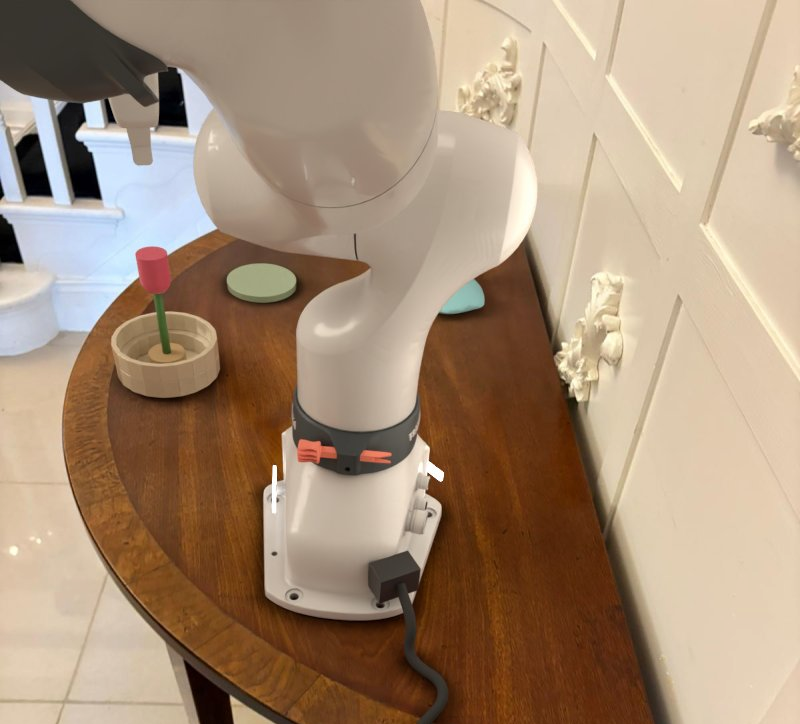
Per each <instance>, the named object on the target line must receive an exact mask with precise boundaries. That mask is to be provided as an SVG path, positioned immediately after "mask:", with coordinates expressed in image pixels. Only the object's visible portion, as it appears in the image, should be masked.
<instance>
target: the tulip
mask: <svg viewBox="0 0 800 724" xmlns="http://www.w3.org/2000/svg"><path fill="white" fill-rule="evenodd" d="M134 255H135V260H136V266H137V267H136V268H137V272H138V277H139V278H138V279H139V282H140V285H141V287H142V288H143V289H144V290H145V291H146V292H148V293H150V294H152V295H153V302H154V308H155V312H156V315H157V321H158V327H159V333H160V339H161V344H157V345H155V346H153V347H152V348H151V349H150V350H149V352H148V356H149V361H150V363H156V364H163V363H175V362H179V361H183V360H187V359H186V351H185V349H184V347H183V346H181V345H179V344H176V343H170V341H169V335H168V328H167V322H166V315H165V312H166V310H165V309H166V308H165V303H164V296H163V294H164V293H165V292H166V291H168V290H169V288H170V286H171V283H172V276H171V271H170V262H169V255H168V251H167V250H166V249H165V248H163V247H160V246H153V245H152V246H151V245H150V246H143V247H141V248H139V249H137V250H136V251H135V254H134Z"/></svg>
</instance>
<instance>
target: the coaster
mask: <svg viewBox="0 0 800 724" xmlns="http://www.w3.org/2000/svg"><path fill="white" fill-rule="evenodd" d="M226 287H227V290H228V292H229V293H230V294H231V295H232V296H233V297H235V298H237V299H239V300H242V301H246V302H250V303H258V304H266V303H275V302H279V301H283V300H285V299H287V298H289V297H290V296H292V295H293V294H294V293H295V292H296V290H297V277H296V275H295V274H294V272H292V271H291V270H290V269H288V268H286V267H284V266H281V265H278V264H273V263H266V262H265V263H264V262H263V263H261V262H259V263H249V264H245V265H244V264H243V265H241V266H237V267H236V268H234V269H233V270H231V271H230V272H229V273H228V274H227V277H226Z"/></svg>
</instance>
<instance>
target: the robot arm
mask: <svg viewBox="0 0 800 724" xmlns="http://www.w3.org/2000/svg"><path fill="white" fill-rule="evenodd" d="M168 68H176V69H179V70H181V71H182V72H183V73H184V74H185V75H186V76H187V77H188V78H189V79H190V80H191V81H192V82H193V83H194V84H195V85H196V86H197V87H198V89H199V90H200V91H201V92H202V93H203V94H204V96H205V97H206V99H207V100H208V102H209V103H210V105H211V106H212V109H211V110H210V112H209V113H208V114H207V116H206V117H205V119H204V121H203V123H202V124H201V127H200V129H199V132H198V134H197V138H196V141H195V145H194V149H193V160H192V167H193V168H192V170H193V179H194V185H195V189H196V192H197V195H198V198H199V200H200V201H199V202H200V204H201V205H202V208H203V210H204V211H205V213H206V215H207V216H208V218H209V219H210V221H211V222H212V224H213V226H215V228H216V229H217V230H218V231H219V232H220V233H222V234H224V235H227V236H230V237H233V238H236V239H238V240H242V241H244V242H248V243H250V244H254V245H256V246H261V247H264V248H267V249H270V250H274V251H278V252H281V253H289V254H297V255H305V256H314V257H315V256H316V257H323V258H330V259H338V260H339V259H340V260H348V261H355V262H358V261H359V262H362V263H365V264H366V265H367V266H369V267H370V268H369V269H367V270H366V271H364V272H363V273H360V274H359V275H358V276H355V277H353V278H350V279H347V280H345V281H341V282H339V283H335V284H334V285H331V286H330V287H327V288H325V289H324V290H322V291H321V292H320V293H318V294H317V295H316V296H314V297H313V298H312V299H311V300H310V301H309V302H308V303H307V304H306V305H305V307H304V309H303V310H302V311H301V313H300V315H299V318H298V321H297V324H296V328H295V342H296V343H295V344H296V381H297V382H296V383H297V384H296V386H295V387H294V390H293V395H292V396H293V398H292V403H291V423H292V425H291V426H290V427H288V428H287V429H285V431H283V432H282V433H281V450H282V451H281V452H282V470H283V471H282V473H283V479H282V480H279V481H277V465H272V483H271V484H268V485H267V486H266V487H265V488H264V490H263V496H262V507H263V508H262V519H263V520H262V521H263V525H262V526H263V527H262V528H263V575H264V576H263V579H264V580H263V582H264V584H263V585H264V587H263V588H264V595H265V597H266V598H267V599H268V600H269V601H271V602H272V603H274V604H276V605H277V606H279V607H281V608H284V609H286V610H288V611H291V612H293V613H297V614H301V615H305V616H310V617H314V618H322V619H331V620H340V621H377V620H382V619H384V620H385V619H388V618H392V617H396V616H400V615H402V614H403V618H404V624H405V636H404V641H403V652H404V656H405V658H406V661H407V663H408V664H409V665H410V667H411V668H412V669H413V670H414V671H415V672H417V673H418V674H419V675H421V676H422V677H424V678H425V679H427V680H428V681H430V682H431V683H432V684H433V685H434V687H435V688H436V690H437V691H436V692H437V695H436V698H435V701H434V703H433V704H432V706H430V708H429V709H428V710H427V711H426V712H425V713H424V714H423V715H422V716H421V717H420V718H419V720H418V721H417V722H416V724H432V723H433V722H434V721H435V720H436V719H437V718H438V717H439V716H440V715H441V713H443V711H444V710H445V708H446V706H447V704H448V702H449V688H448V684H447V682H446V680H445V679H444V677H443V676H442V675H441V674H440V673H439V672H437V671H436V670H435V669H433V668H432V667H430V666H429V665H427V664H426V663H425V662H423V661H422V660H421V659H420V658H419V656H418V655H417V653H416V650H415V642H416V639H417V632H418V631H417V630H418V628H417V619H416V614H415V610H414V607H413V603H414V601H415V598H416V595H417V591H419V587H420V583H421V579H422V576H423V573H424V570H425V567H426V564H427V561H428V558H429V555H430V552H431V550H432V549H431V548H432V546H433V543H434V539H435V537H436V534H437V531H438V527H439V524H440V522H441V518H442V515H443V514H442V512H443V511H442V504H441V502H439V501H438V499H436V498H435V497H433V496H431V495H430V494H427V492H426V491H428V490H429V486H430V482H431V476H433V478H435V479H436V480H438V481H439V482H442V481H443V480H444V474H445V473H444V472H443V470H441V469H440V468H438V467H436V466H435V464H433V463H432V462H430V461H429V460H430V451H431V450H430V448H431V447H430V446H429V445H428V444H427V443H426V441H424V440H423V438H421V436H420V435H419V434H418V432H419V426H420V421H421V413H422V412H421V397H420V394H419V391H418V386H419V378H420V372H421V366H422V362H423V361H422V360H423V356H424V351H425V347H426V342H427V338H428V335H429V332H430V330H431V327H432V325H433V324H434V321H435V320H436V318H437V317H438V314H440V313H439V312H440V310H441V309H442V308H443V306H444V305H445V304H446V303H447V302H448V300H449V299H450V298H451V297H452V296H453V295H454V294H455V293H456V292H457V291H458V290H459V289H461V288H462V287H463V286H464V285H466V284H467V283H468V282H470V281H471V280H473V279H476V278H478V277H479V276H480V275H483V274H484V273H486V272H488V271H490V270H492V269H494V268H496V267H498V266H500V265H501V264H503V263H504V262H505V261H506V260H507V259H509V257H511V256H512V255H513V254H514V252H515V251H516V250H517V249H518V248H519V247H520V245H521V243H522V242H523V241H524V239H525V238H526V236H527V234H528V232H529V230H530V227H531V225H532V222H533V221H534V216H535V213H536V209H537V204H538V203H537V202H538V189H539V188H538V176H537V172H536V167H535V163H534V159H533V156H532V154H531V153H530V150H529V148H528V146H527V145H526V144H527V143H526V142H525V141H524V139H523V138H522V136H521V135H520V134H519V132H517V131H514V130H511V129H509V128H506V127H504V126H501V125H498V124H496V123H493V122H491V121H488V120H485V119H482V118H478V117H475V116H472V115H469V114H466V113H463V112H460V111H459V112H458V111H452V110H451V111H450V110H443V109H439V83H438V81H439V80H438V79H439V78H438V67H437V60H436V53H435V47H434V42H433V36H432V33H431V29H430V26H429V22H428V18H427V16H426V12H425V10H424V6H423V4H422V1H421V0H0V82H2V83H4V84H5V85H7V86H8V87H10V88H11V89H13V90H14V91H16V92H17V93H20V94H21V95H24V96H29V97H33V98H38V99H44V100H48V101H49V100H50V101H55V102H63V103H74V104H86V103H92V102H99V101H103V100H106V99H107V100H108V102H109V105H110V108H111V111H112V114H113V118H114V120H115V123H116V125H117V126H118V127H119V128H121V129H126V133H127V134H126V135H127V137H128V141H129V144H130V149H131V155H132V160H133V163H134V165H136V166H139V167H140V166H151V165H152V164H153V162H154V157H153V150H152V141H151V138H152V137H151V129H153V128H156V127H157V126H158V124H159V118H160V117H159V116H160V92H159V91H160V89H159V73H163V72H169V69H168ZM428 473H429V474H430V475H431V476H430V475H429V476H428Z"/></svg>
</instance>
